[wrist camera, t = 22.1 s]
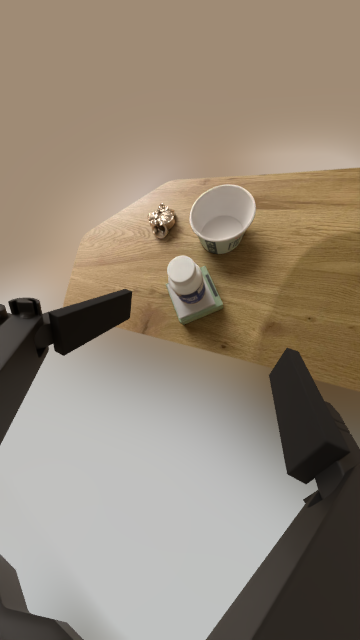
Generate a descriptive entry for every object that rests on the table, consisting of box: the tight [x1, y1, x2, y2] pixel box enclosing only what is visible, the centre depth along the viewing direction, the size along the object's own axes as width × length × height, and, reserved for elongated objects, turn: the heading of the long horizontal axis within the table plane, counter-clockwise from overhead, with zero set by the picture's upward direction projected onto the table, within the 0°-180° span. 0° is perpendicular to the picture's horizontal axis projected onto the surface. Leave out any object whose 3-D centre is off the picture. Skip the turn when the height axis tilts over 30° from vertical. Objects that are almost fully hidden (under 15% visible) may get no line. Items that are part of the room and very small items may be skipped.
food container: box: [190, 185, 256, 254], centre depth 33 cm, size 12×12×6 cm
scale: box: [166, 266, 223, 325], centre depth 34 cm, size 9×9×4 cm
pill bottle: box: [167, 256, 206, 305], centre depth 27 cm, size 5×5×10 cm
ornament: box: [148, 203, 175, 238], centre depth 39 cm, size 8×7×4 cm
